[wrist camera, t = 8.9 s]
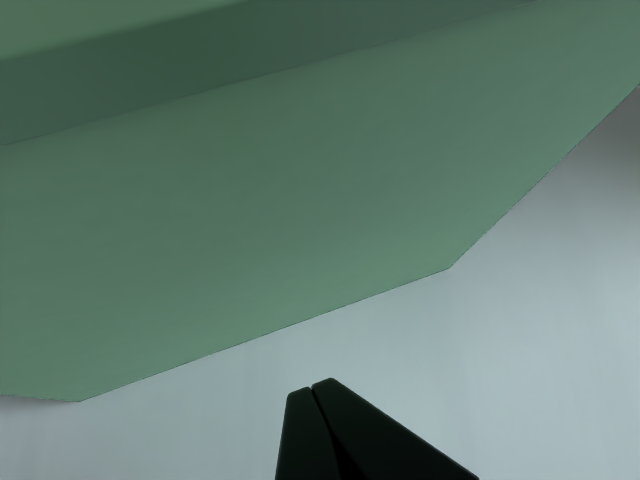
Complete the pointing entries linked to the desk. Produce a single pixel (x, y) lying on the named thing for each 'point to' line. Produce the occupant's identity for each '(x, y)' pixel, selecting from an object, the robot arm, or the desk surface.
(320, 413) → the robot arm
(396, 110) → the storage box
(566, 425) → the desk surface
